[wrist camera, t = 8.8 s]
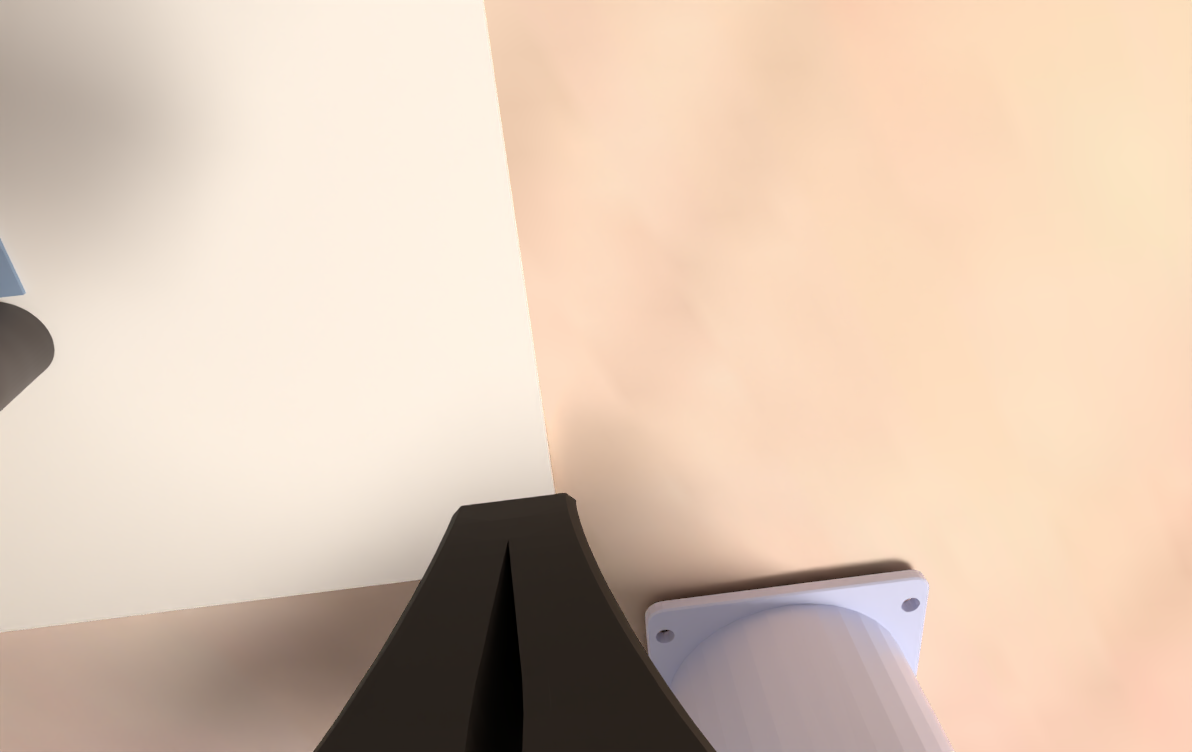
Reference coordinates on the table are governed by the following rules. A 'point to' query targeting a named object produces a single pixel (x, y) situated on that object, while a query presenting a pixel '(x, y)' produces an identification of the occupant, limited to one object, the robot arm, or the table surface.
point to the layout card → (254, 300)
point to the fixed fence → (21, 351)
